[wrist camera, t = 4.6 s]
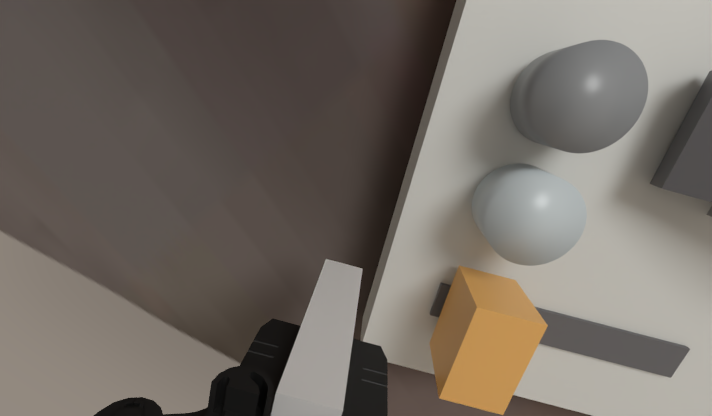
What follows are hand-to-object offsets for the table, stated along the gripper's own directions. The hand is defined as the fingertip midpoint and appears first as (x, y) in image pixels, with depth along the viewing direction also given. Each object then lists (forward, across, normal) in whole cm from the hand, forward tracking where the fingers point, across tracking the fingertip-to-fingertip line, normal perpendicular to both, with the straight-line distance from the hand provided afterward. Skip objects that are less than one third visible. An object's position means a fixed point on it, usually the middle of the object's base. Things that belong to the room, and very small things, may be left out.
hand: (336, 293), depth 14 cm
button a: (+1, +6, +9) cm, 11 cm away
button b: (+1, +6, +5) cm, 8 cm away
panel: (+5, +11, +5) cm, 13 cm away
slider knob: (+1, +6, 0) cm, 6 cm away
